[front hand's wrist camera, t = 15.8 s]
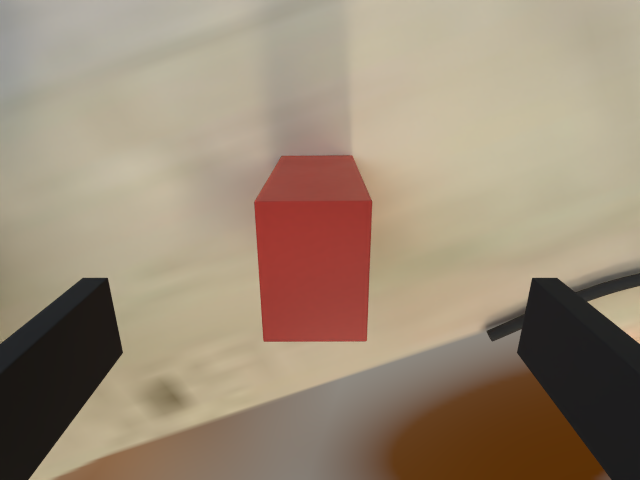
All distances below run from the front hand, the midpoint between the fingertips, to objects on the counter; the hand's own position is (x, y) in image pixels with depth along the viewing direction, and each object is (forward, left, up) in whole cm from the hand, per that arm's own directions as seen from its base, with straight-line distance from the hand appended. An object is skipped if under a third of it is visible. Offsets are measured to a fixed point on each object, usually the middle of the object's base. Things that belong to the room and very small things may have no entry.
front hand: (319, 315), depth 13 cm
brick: (-1, 0, -16) cm, 16 cm away
